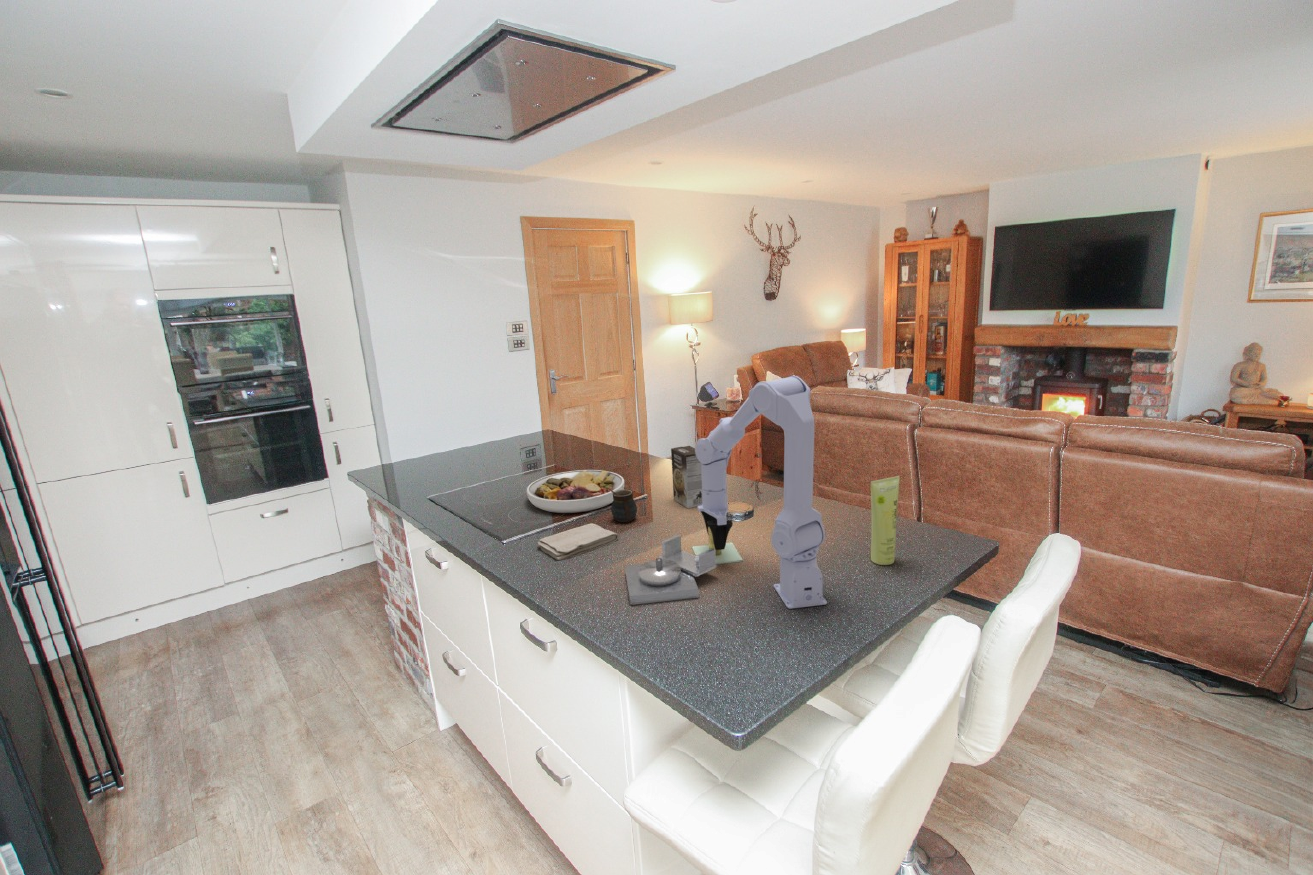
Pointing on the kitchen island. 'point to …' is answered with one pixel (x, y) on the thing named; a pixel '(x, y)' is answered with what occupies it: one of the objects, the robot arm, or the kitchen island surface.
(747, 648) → the kitchen island surface
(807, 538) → the robot arm
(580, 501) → the bowl
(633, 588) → the base
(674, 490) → the coffee box
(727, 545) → the pad
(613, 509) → the mate gourd
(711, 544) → the olive glass cylinder
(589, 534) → the washcloth
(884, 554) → the tube
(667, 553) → the grey disc and bracket
